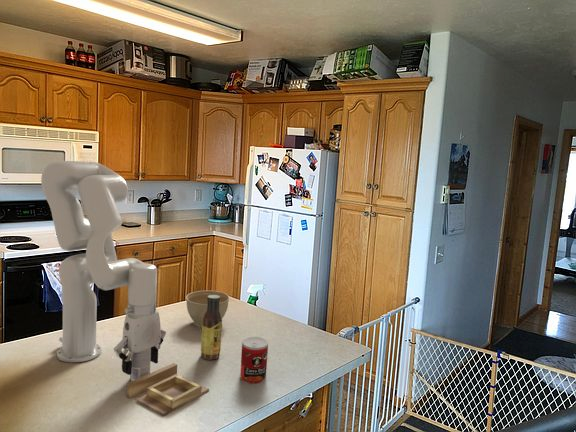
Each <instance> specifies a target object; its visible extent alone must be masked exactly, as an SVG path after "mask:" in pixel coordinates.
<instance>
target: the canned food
mask: <svg viewBox="0 0 576 432" xmlns="http://www.w3.org/2000/svg"><path fill="white" fill-rule="evenodd" d="M241 342H242V343H241V354H240V355H241V356H240V357H241V358H240V378H241V380H242V381H243V382H244V383H247V384H253V385H254V384H260V383H262V382H264V381H265V379H266V377H267V370H268V369H267V367H268V366H267V365H268V354H269V353H268V351H269V342H268V340H267V339H266V338H262V337H259V336H250V337H246V338H244V339H242V341H241Z"/></svg>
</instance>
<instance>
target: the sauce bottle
mask: <svg viewBox="0 0 576 432" xmlns="http://www.w3.org/2000/svg"><path fill="white" fill-rule="evenodd" d="M207 301H208V305H207V311H206V313H205V314H204V316H203V324H202V328H201V340H200V341H201V342H200V356H201V358H202V359H204V360H210V361H211V360H216V359H218V358H219V357H220V355H221V349H222V346H221V345H222V333H223V332H222V329H223V318H221V315H220V311H219V301H220V296H218V295H209V296H208V297H207Z"/></svg>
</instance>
